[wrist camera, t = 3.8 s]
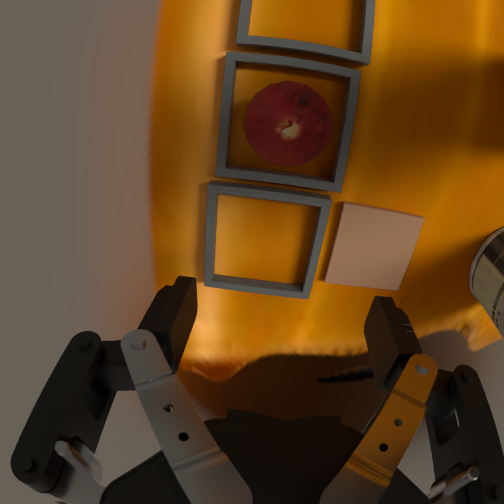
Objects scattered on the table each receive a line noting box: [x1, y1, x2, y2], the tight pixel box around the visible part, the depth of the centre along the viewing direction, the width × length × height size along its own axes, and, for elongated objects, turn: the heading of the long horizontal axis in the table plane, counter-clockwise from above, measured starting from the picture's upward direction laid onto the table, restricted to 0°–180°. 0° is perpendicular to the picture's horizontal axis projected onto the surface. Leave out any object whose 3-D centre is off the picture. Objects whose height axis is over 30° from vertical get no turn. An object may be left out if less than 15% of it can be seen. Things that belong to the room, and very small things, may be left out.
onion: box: [243, 81, 333, 166], centre depth 18 cm, size 6×6×8 cm
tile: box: [324, 201, 424, 290], centre depth 26 cm, size 8×8×1 cm
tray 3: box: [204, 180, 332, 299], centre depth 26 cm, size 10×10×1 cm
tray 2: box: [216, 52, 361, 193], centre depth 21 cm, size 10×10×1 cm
